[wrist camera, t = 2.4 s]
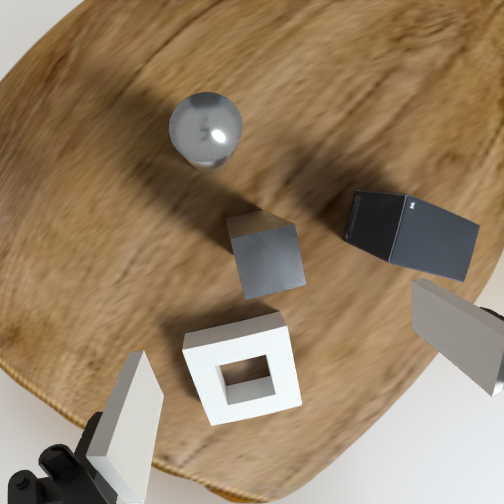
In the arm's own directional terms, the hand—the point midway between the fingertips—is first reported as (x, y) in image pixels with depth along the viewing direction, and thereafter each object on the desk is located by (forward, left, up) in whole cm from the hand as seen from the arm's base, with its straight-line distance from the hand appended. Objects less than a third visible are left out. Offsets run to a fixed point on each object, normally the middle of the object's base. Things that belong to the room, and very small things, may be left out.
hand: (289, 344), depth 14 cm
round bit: (-11, -1, -21) cm, 23 cm away
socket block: (+13, -3, -20) cm, 24 cm away
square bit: (-2, +1, -21) cm, 21 cm away
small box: (+1, +17, -21) cm, 27 cm away
